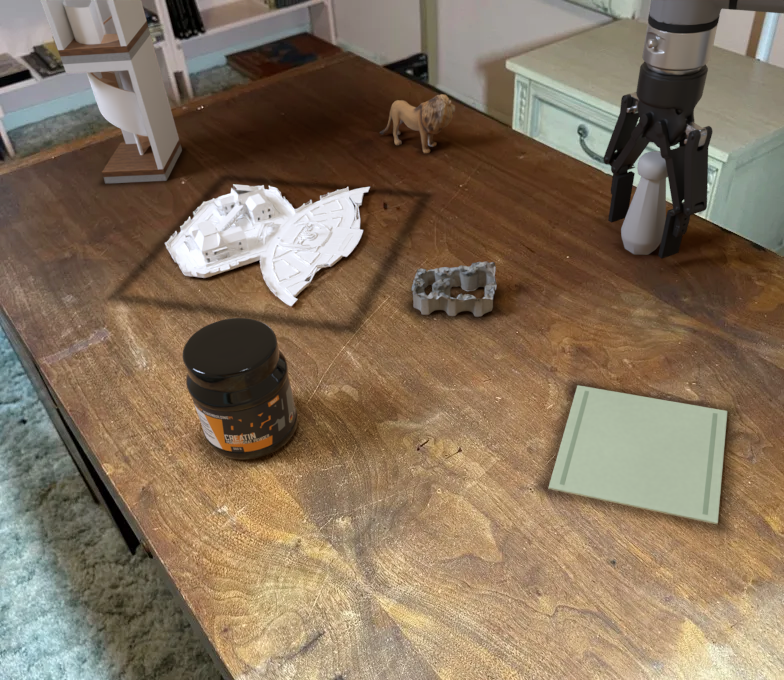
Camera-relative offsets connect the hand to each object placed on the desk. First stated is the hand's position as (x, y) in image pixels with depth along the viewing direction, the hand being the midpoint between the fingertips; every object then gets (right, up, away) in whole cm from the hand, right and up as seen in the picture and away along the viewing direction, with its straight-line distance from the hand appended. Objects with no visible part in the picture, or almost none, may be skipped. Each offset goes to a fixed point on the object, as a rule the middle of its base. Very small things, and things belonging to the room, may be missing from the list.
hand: (642, 236), depth 104 cm
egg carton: (-26, -10, -4) cm, 28 cm away
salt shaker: (0, -1, +1) cm, 2 cm away
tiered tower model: (-77, +20, +29) cm, 85 cm away
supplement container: (-50, -27, -19) cm, 60 cm away
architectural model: (-51, +1, +9) cm, 51 cm away
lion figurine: (-29, +24, +28) cm, 47 cm away
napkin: (-8, -29, -25) cm, 39 cm away
